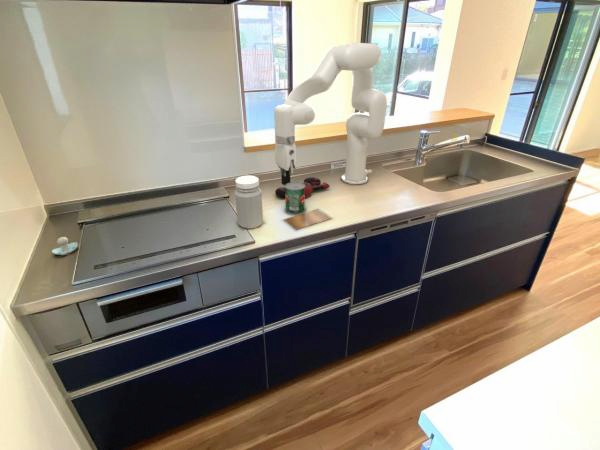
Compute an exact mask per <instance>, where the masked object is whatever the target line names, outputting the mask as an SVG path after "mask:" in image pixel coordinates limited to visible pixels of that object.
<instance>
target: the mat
mask: <svg viewBox="0 0 600 450" xmlns="http://www.w3.org/2000/svg"><path fill="white" fill-rule="evenodd" d="M331 219H332V218H331V217H330V216H328V215H327V214H326V213H324V212H322V211H321V210H319V209H318V208H316V209H314V210H311V211H308V212H307V211H306V212H303V213H302V214H299V215H293V216H291V217H288V218H284V219H283V221H284V222H285V223H287V224H288V225H289V226H290V227H292V228H293V229H294V230H295V231H297V230H300V229H303V228H307V227H309V226H312V225H316V224H320V223H322V222H325V221H328V220H331Z"/></svg>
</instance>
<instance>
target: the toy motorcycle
mask: <svg viewBox="0 0 600 450" xmlns="http://www.w3.org/2000/svg"><path fill="white" fill-rule="evenodd" d="M302 183H303V184H304V185H305V200H307V197H310V196H311V195H312V194H313V192H314V191H323V190H325V189H328V188H330V184H329V183H327V182H321V179H320V178H319V177H316V176H307V177H306V178H304V180H303V182H302ZM274 194H275V196H277V198H281V199H285V186H281V187H278V188H276V189H275V191H274Z"/></svg>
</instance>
